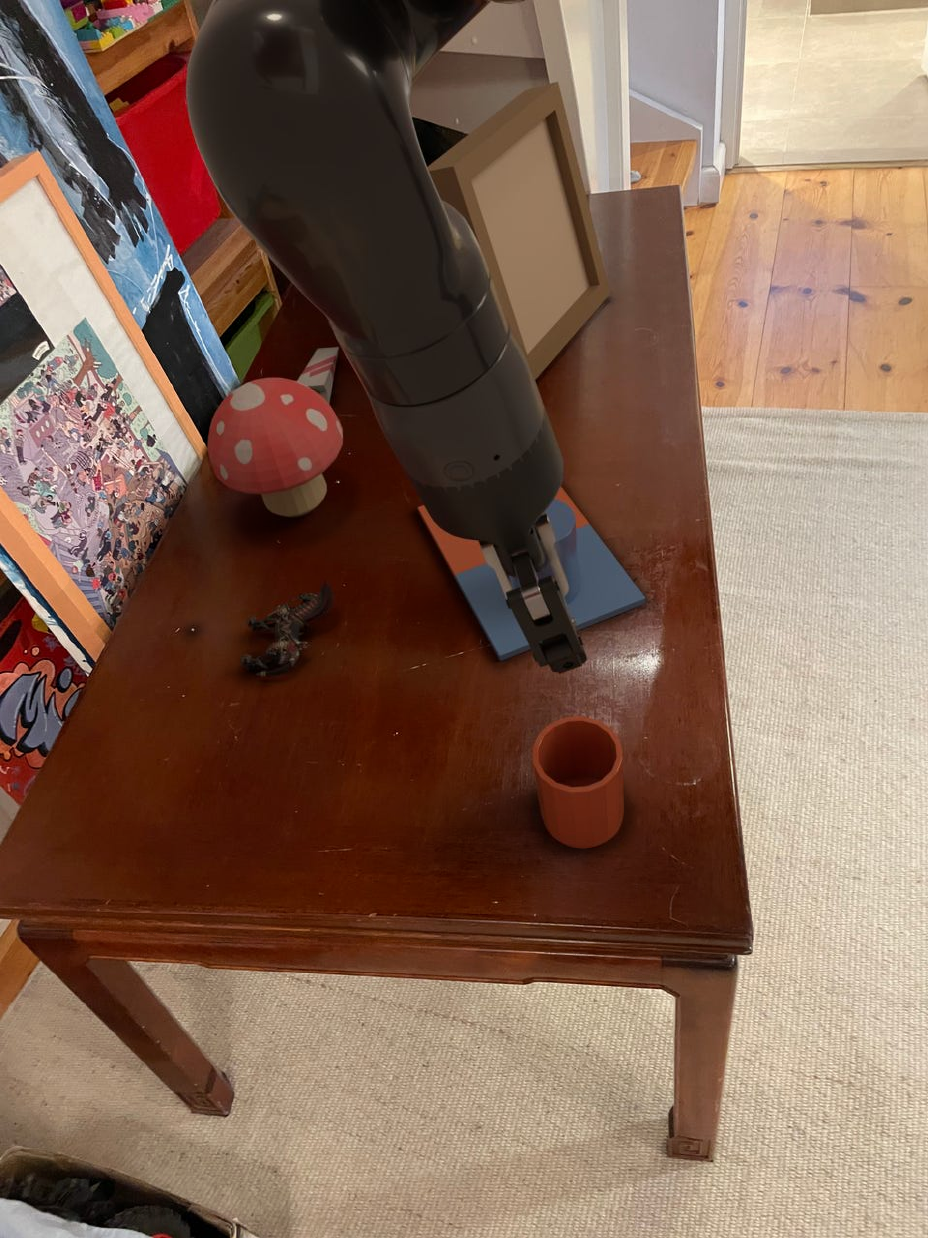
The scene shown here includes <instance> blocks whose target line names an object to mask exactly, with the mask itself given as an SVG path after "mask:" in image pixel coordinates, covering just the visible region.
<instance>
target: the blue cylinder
mask: <svg viewBox="0 0 928 1238" xmlns="http://www.w3.org/2000/svg"><path fill="white" fill-rule="evenodd" d="M545 511H546V513H547V515H548V518H549V520H550V523H551V526H552V528H553V531H554V534H555V539H556V540H555V544H554V547H555V549H556V552H557V554H558V557H559V560H560V562H561V565H562V568H563V570H564V573H565V575H566V578H567V581H568V585H569V591H568V593H567V594H566V595H565V597H564V598H565V601H566V603H567V604H568V603H570V602H571V601H572V600H573V599H574V598H575V597H576V596H577V594H578V592H579V589H580V573H579V559H578V545H577V531H576V518H575V514H574V511H573V510H572V509H571V507H570V506H569V505H567V504H566V503H564V502H562V501H560V500H557V499H554V500H553V502H552V503H551V504H550V506H549V507H548V508H547V509H546V510H545ZM545 511H544V512H545ZM550 575H552V577H554V572H553V570H552V567H551V564H550V562H549V559H548V564H547V566H546V568H545V569H544V570H543V571H541V572H539V573H537V576H538V579H539V580H540V579H542V578H545V577H547V576H550ZM512 579H513V586H514V588H515V589H516V588H518V587H520V585H519V582H518V579H517V578H514V577H512Z"/></svg>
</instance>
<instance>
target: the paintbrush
mask: <svg viewBox="0 0 928 1238" xmlns="http://www.w3.org/2000/svg"><path fill="white" fill-rule="evenodd" d="M339 348H340V347H339V346H336V347H324V348H323V347H322V348H317V349H316V351H315V352H314V354H313V356H312V357H311V358H310V360H309V361H308V363H307V365H306V367H305V368H304V369H303V371H302V373H301V374H300V376H299V377H298V379H297V380H296V381H297V382H300V383H302V384H304V385H306V386H308V387H309V388H311V389H312V390H314V391H315V392H317V393H318V394H320V395H321V396H322V397H323V398H324V399H325V400H326V401H327V402H328V403H329V404H330V401H331V395H332V389H333V383H334V380H335V379H334V378H335V372H336V366H337V362H338V355H339V350H340V349H339Z"/></svg>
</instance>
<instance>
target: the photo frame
mask: <svg viewBox="0 0 928 1238" xmlns="http://www.w3.org/2000/svg"><path fill="white" fill-rule="evenodd" d="M561 92H562V91H561V88H560V84H559V81H556V82H551V83H547V84H544V85H540V86H536V87H531V88H528V89H525V90H523V91H522V92H521V93H519V94H518V95H517V96H515V97H514V98H513V99H512V100H511V101H509V102H508V103H507V104H505V105H504V106H503V107H502V108H500V109H498V111H496V113H494V114H493V115H491V116H490V117H488V119H487V120H485V121H484V122H483V123H481V124H480V125H479V126H477V127H476V128H475V129H474V130H473V131H471V132H469V133H468V134H467V135H466V136H465V137H463V138H462V139H461V140H460V141H458V142H457V143H456V144H455V145H453V146H452V147H451V148H450V149H448V150H446V152H445V153H443V154H441V156H440V157H438V158H437V159H435V160H434V161H433V162H431V163H430V164H429V165H428V166H427V168H428V171H429V173H430V176H431V178H432V180H433V183H434V185H435V187H436V190H437V192H438V194H439V197H440V199H441V200H442V201H444V202H446V203H448V204H449V205H451V206H453V207H454V208H455V209H456V210H457V211H458V212H459V213H460V214H461V215H462V216H463V217H464V218H465V219H466V221H467V223H468V224H469V226H470V228H471V229H472V231H473V233H474V235H475V237H476V239H477V241H478V243H479V245H480V247H481V250H482V252H483V255H484V257H485V260H486V262H487V264H488V267H489V270H490V273H491V275H492V278H493V281H494V284H495V286H496V289H497V292H498V295H499V297H500V300H501V303H502V306H503V309H504V311H505V314H506V318H507V320H508V322H509V324H510V327H511V329H512V331H513V333H514V334H515V336H516V338H517V340H518V341H519V343H520V345H521V347H522V349H523V351H524V353H525V355H526V357H527V359H528V362H529V364H530V367H531V370H532V373H533V375H534V378H535V381H536V380H537V379H538V378H539V377H540V375H542V373H543V372H544V371H545V370H546V368H547V367H548V366H549V365H550V364H551V363H552V362H553V360H555V358H556V357H557V356H558V354H559V353H560V352H561V351H562V350H563V349H564V348H565V347H566V345H567V344H568V343H569V341H571V340H572V339H573V337H574V336H575V335H576V334H577V333H578V332H579V331H580V329H581V328H583V326H584V325H585V324H586V322H587V321H588V320H589V319H590V318H591V317H592V316H593V314H594V313H595V312H596V311H597V310H598V309H599V307H601V305H602V304H603V303H604V302H605V301H606V299H607V298H608V297H609V296H610V295H611V291H610V287H609V282H608V278H607V274H606V270H605V265H604V262H603V257H602V254H601V250H600V246H599V242H598V238H597V233H596V229H595V225H594V221H593V217H592V213H591V209H590V206H589V202H588V201H589V200H588V197H587V193H586V188H585V186H584V181H583V177H582V173H581V169H580V165H579V161H578V156H577V153H576V149H575V144H574V140H573V137H572V132H571V128H570V125H569V120H568V116H567V113H566V108H565V104H564V100H563V96H562V93H561Z"/></svg>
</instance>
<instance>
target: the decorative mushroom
mask: <svg viewBox="0 0 928 1238" xmlns="http://www.w3.org/2000/svg"><path fill="white" fill-rule="evenodd" d="M343 434H344V429H343V426H342V424H341V422H340V419H339V418H338V416H337V415H336V413H335V410H334V409H333V408H332V406H331V404H330V402H329V403H328V402H327V401H326V400H325V399H324V398H323V397H322V396H321V395H320V394H318V393H317V392H315V391H314V390H312V389H311V388H309V387H308V386H306V385H304V384H302V383H300V382H297V380H292V379H289V378H283V377H264V378H259V379H254V380H251V381H249V382H246V383H244V384H242V385H240V386H239V387H237V388H235V389H234V390H233V391H232V392H230V394H228V395H227V396H225V398H224V399H223V400H222V401H221V403H220V405H218V408H216V410H215V412H214V413H213V417H212V418H211V421H210V425H209V431H208V435H207V452H208V458H209V461H210V464H211V467H212V469H213V472H214V474H215V477H216V479H217V480H219V481H220V482H221V483H222V484H224V485H225V487H227V488H228V489H232V490H234V491H238V492H241V493H243V494H247V495H261V498H262V501H263V504H264V506H265V508H266V509H267V510H269V512H270V513H273V514H275V515H278V516H281V517H286V518H298V517H302V516H305V515H307V514H309V513H311V512H312V511H314V510H315V509H316V508H317V507H318V506H319V505H320V504H321V502H322V501H323V500H324V499H325V496H326V495H327V491H328V489H327V486H328V485H327V482H326V480H325V478H324V475H323V473H324V472H325V471H326V470H327V469H328V468H329V467H330V466H331V465H332V464H333V463H334V462H335V461H336V459H337V457H338V455H339V453H340V451H341V449H342V447H343V444H344V435H343Z"/></svg>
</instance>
